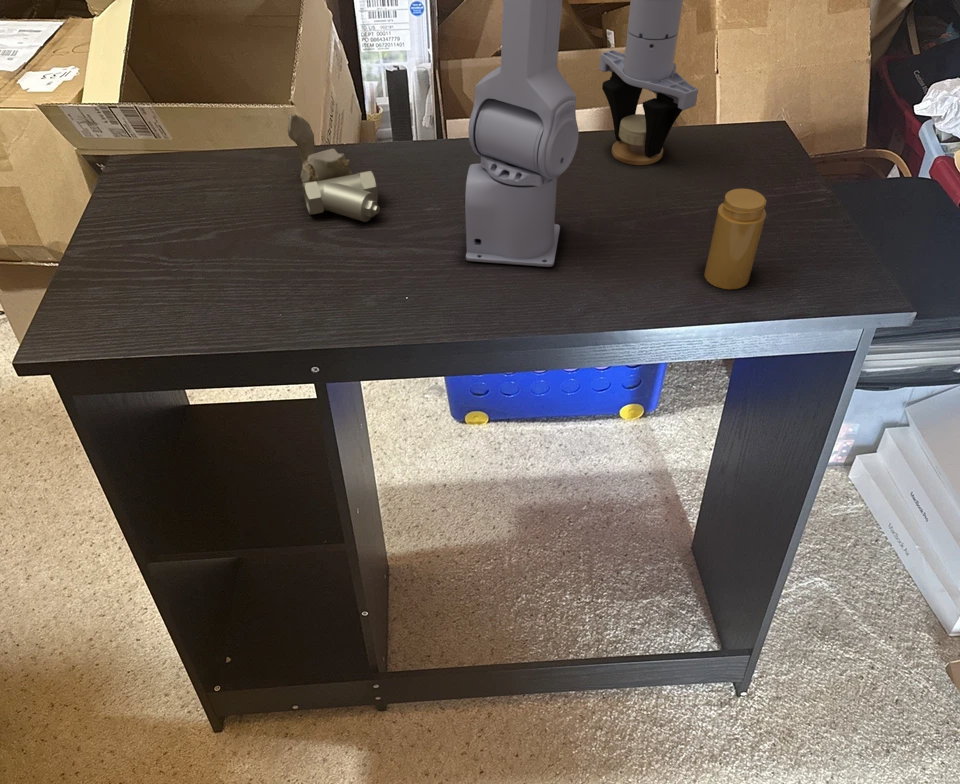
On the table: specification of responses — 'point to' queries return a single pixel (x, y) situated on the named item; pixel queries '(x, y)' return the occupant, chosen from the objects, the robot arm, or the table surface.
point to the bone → (315, 154)
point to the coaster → (633, 154)
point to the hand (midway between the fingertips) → (637, 146)
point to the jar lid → (633, 129)
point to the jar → (735, 239)
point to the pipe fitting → (344, 196)
